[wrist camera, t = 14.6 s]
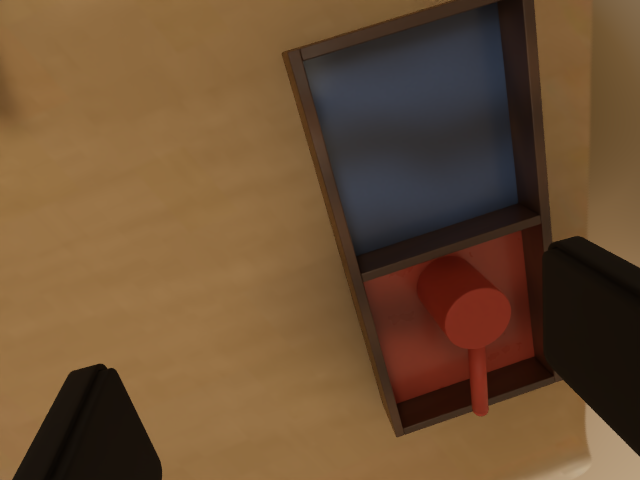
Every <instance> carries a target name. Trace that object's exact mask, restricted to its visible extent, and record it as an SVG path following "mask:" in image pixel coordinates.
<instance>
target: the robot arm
mask: <svg viewBox="0 0 640 480" xmlns="http://www.w3.org/2000/svg"><path fill="white" fill-rule="evenodd" d="M542 297H543V353H544V356H545V359H546V361H547V363H548V364H549V366H550V367H551V368H552V369H553V370H554V371H555V372H556V373H557V374H558V375H559V376H560V377H561V378H562V379H563V380H564V381H565V382H566V383H567V384H568V385H569V386H570V387H571V388H572V389H573V390H574V391H575V392H576V393H577V394H578V395H579V396H580V397H581V398H582V399H583V400H584V401H585V402H586V403H587V404H588V405H589V406H590V407H591V408H592V409H593V410H594V411H595V412H596V413H597V414H598V415H599V416H600V417H601V418H602V419H603V420H604V421H605V422H606V423H607V424H608V425H609V426H610V427H611V428H612V429H613V430H614V431H615V432H616V433H617V434H618V435H619V436H620V437H621V438H622V439H623V440H624V441H625V442H626V443H627V444H628V445H629V446H630V447H631V448H632V449H633V450H634V451H635V452H636V453H637V454H638V455H639V456H640V268H639V267H637V266H635V265H633V264H631V263H629V262H628V261H626V260H624V259H622V258H620V257H618V256H616V255H615V254H613V253H611V252H609V251H607V250H605V249H603V248H601V247H599V246H598V245H596V244H594V243H592V242H590V241H588V240H586V239H585V238H583V237H580V236H575V237H571V238H568V239H564V240H560V241H556V242H553V243H551V244H550V245H549V247H548V251H545V252H544V253H543V255H542ZM12 480H162V467H161V462H160V460H159V457H158V455H157V453H156V451H155V449H154V447H153V445H152V443H151V441H150V439H149V437H148V435H147V432H146V430H145V428H144V426H143V424H142V422H141V420H140V418H139V416H138V414H137V412H136V410H135V408H134V406H133V404H132V402H131V399H130V397H129V395H128V393H127V391H126V389H125V387H124V385H123V383H122V381H121V379H120V377H119V375H118V373H117V371H116V370H115V369H114V368H109V369H107V367H106V366H105V365H103V364H97V365H93V366H89V367H86V368H82V369H78V370H74V371H72V372H70V374H69V375H68V377H67V378H66V380H65V382H64V384H63V386H62V388H61V390H60V392H59V393H58V395H57V397H56V399H55V401H54V403H53V405H52V406H51V408H50V410H49V412H48V414H47V416H46V418H45V420H44V421H43V423H42V425H41V427H40V429H39V431H38V433H37V435H36V436H35V438H34V440H33V442H32V444H31V446H30V448H29V449H28V451H27V453H26V455H25V457H24V459H23V461H22V463H21V464H20V466H19V468H18V470H17V472H16V474H15V476H14V477H13V479H12Z"/></svg>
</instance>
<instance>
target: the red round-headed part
mask: <svg viewBox="0 0 640 480" xmlns="http://www.w3.org/2000/svg"><path fill="white" fill-rule="evenodd" d="M417 294H418V297H419V299H420V301H421V303H422V304H423V305H424V307H425V308H426V309H427V311H428V312H429V313H430V315H431V316H432V317H433V319H434V320H435V321H436V323H437V324H438V325H439V327H440V328H441V329H442V331H443V332H444V334H445V335H446V336H447V338H448V339H449V340H450V341H451V342H452V343H453V344H454V345H456V346H458V347H461V348H465V349H468V360H469V374H470V388H471V402H472V410H473V412H474V413H475V414H476V415H478V416H485V415H486V414H487V413H488V410H489V407H488V388H487V369H486V350H485V346H486V345H489V344H490V343H492V342H494V341H495V340H496V339H497V338H499V337H500V336H501V335H502V333H503V332H504V331H505V329H506V328H507V326H508V324H509V321H510V317H511V306H510V303H509V300H508V299H507V297H506V296H505V295H504V294H503V293H502V292H501V291H500V290H499V289H498V288H497V287H495V286H494V285H493V284H492V283H491V282H490V281H489V280H488V279H487V278H485V277H484V276H483V275H482V274H481V273H480V272H479V271H478V270H476V269H475V268H474V267H473V266H472V265H471V264H470V263H469V262H467V261H466V260H464V259H463V258H460V257H456V256H447V257H442V258H439V259H437V260H435V261H433V262H432V263H430V264H429V265H428V266H427V267H426V268H425V269H424V270H423V272H422V273H421V275H420V277H419V280H418V283H417Z"/></svg>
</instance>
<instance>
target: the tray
mask: <svg viewBox="0 0 640 480" xmlns="http://www.w3.org/2000/svg"><path fill="white" fill-rule="evenodd" d="M282 56H283V59H284V63H285V66H286V70H287V73H288V77H289V80H290V84H291V87H292V91H293V94H294V98H295V101H296V105H297V108H298V111H299V115H300V118H301V122H302V125H303V129H304V132H305V136H306V139H307V143H308V146H309V150H310V153H311V156H312V160H313V163H314V167H315V170H316V174H317V177H318V181H319V184H320V188H321V191H322V195H323V198H324V202H325V205H326V208H327V212H328V215H329V219H330V222H331V226H332V229H333V233H334V236H335V240H336V243H337V247H338V250H339V254H340V257H341V260H342V264H343V267H344V271H345V274H346V278H347V281H348V285H349V288H350V292H351V295H352V299H353V302H354V306H355V309H356V312H357V316H358V319H359V323H360V326H361V330H362V333H363V337H364V340H365V344H366V347H367V351H368V354H369V357H370V361H371V364H372V368H373V371H374V375H375V378H376V382H377V385H378V389H379V392H380V396H381V399H382V403H383V406H384V408H385V411H386V413H387V416H388V418H389V421H390V423H391V425H392V428H393V430H394V433H395V435H396V437H400V436H403V435H404V434H405V435H406V434H409V433H411V432H414V431H417V430H420V429H423V428H426V427H429V426H432V425H434V424H437V423H440V422H443V421H446V420H449V419H452V418H455V417H457V416H460V415H463V414H466V413H469V412H472V411H473V410H472V402H471V388H470V374H469V360H468V349H465V348H461V347H458V346H456V345H454V344H453V343H452V342H451V341H450V340H449V339H448V338H447V336H446V335H445V334H444V332H443V331H442V329H441V328H440V327H439V325H438V324H437V323H436V321H435V320H434V319H433V317H432V316H431V315H430V313H429V312H428V311H427V309H426V308H425V307H424V305H423V304H422V303H421V301H420V299H419V297H418V294H417V283H418V280H419V277H420V275H421V273H422V272H423V270H424V269H425V268H426V267H427V266H428V265H429V264H430V263H432V262H433V261H435V260H437V259H439V258H442V257H447V256H456V257H460V258H463V259H464V260H466V261H467V262H469V263H470V264H471V265H472V266H473V267H474V268H475V269H476V270H478V271H479V272H480V273H481V274H482V275H483V276H484V277H485V278H487V279H488V280H489V281H490V282H491V283H492V284H493V285H494V286H495V287H497V288H498V289H499V290H500V291H501V292H502V293H503V294H504V295H505V296H506V297H507V299H508V300H509V303H510V306H511V317H510V321H509V324H508V326H507V328H506V329H505V331H504V332H503V333H502V335H501V336H500V337H499V338H497V339H496V340H495V341H494V342H492V343H490V344H489V345H486V346H485V350H486V369H487V388H488V406H489V405H492V404H495V403H498V402H501V401H504V400H506V399H509V398H512V397H515V396H518V395H521V394H524V393H527V392H529V391H532V390H535V389H538V388H541V387H544V386H547V385H550V384H553V383H555V382H558V381H561V380H563V379H562V378H561V377H560V376H559V375H558V374H557V373H556V372H555V371H554V370H553V369H552V368H551V367H550V366H549V364H548V363H547V361H546V359H545V356H544V353H543V297H542V255H543V253H544V252H545V251H548V247H549V245H550V244H551V243H552V233H551V220H550V207H549V194H548V180H547V167H546V154H545V141H544V128H543V115H542V101H541V88H540V75H539V62H538V49H537V36H536V22H535V9H534V0H452V1H449V2H446V3H442V4H439V5H436V6H433V7H429V8H426V9H423V10H420V11H416V12H413V13H410V14H406V15H403V16H400V17H397V18H393V19H390V20H387V21H383V22H380V23H377V24H374V25H370V26H367V27H364V28H360V29H357V30H354V31H351V32H347V33H344V34H341V35H337V36H334V37H331V38H328V39H324V40H321V41H318V42H314V43H311V44H308V45H305V46H301V47H298V48H295V49H291V50H288V51H285V52H282Z"/></svg>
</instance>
